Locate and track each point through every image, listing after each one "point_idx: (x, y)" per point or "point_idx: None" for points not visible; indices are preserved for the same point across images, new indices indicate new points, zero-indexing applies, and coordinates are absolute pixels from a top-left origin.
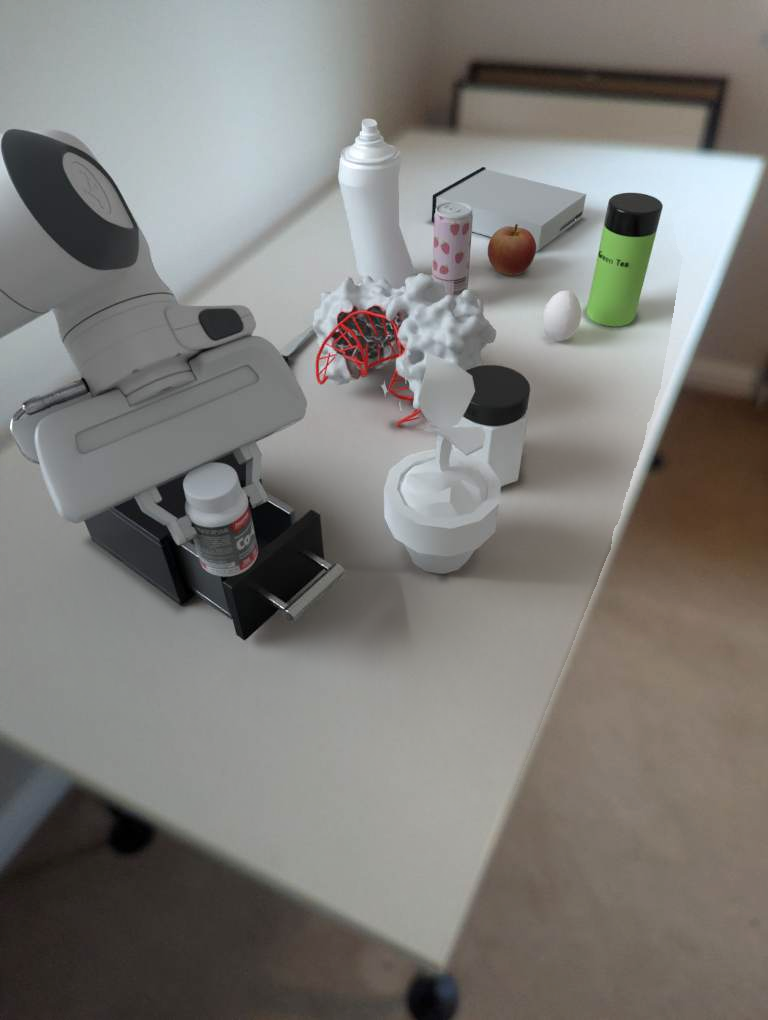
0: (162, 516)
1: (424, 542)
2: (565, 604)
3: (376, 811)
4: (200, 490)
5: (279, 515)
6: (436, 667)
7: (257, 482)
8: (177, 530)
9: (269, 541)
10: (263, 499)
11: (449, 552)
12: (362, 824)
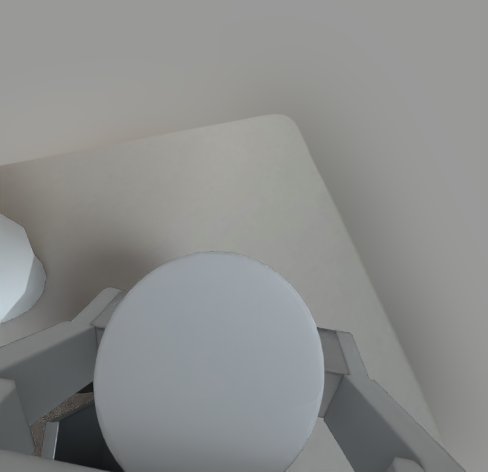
0: (393, 404)
1: (17, 243)
2: (23, 170)
3: (257, 174)
4: (279, 335)
5: (67, 443)
6: (139, 209)
7: (82, 319)
8: (352, 351)
9: (102, 452)
10: (118, 290)
11: (18, 224)
12: (269, 175)
